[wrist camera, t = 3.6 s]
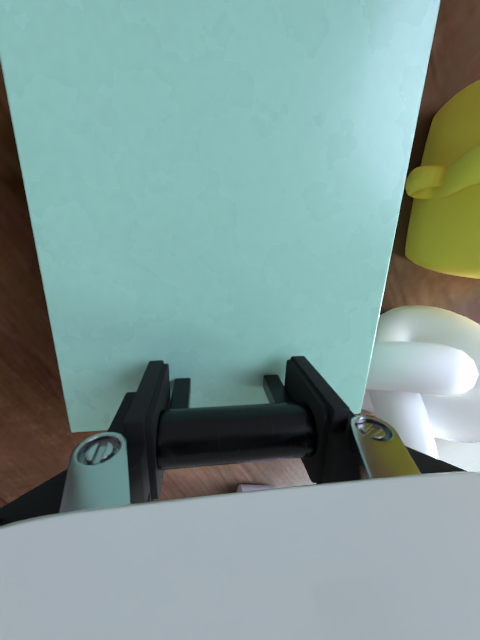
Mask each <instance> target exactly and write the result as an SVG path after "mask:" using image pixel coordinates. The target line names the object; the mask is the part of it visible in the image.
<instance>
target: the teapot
mask: <svg viewBox="0 0 480 640" xmlns="http://www.w3.org/2000/svg"><path fill="white" fill-rule="evenodd" d="M405 189H406V192H407V194H408V195H409V196H411V197H413V198H414V199H413V204H412V209H411V215H410V220H409V226H408V232H407V239H406V246H405V256H406V258H407V259H409V260H410V261H411V262H413V263H414V264H417V265H419V266H421V267H423V268H426V269H429V270H433V271H437V272H441V273H445V274H451V275H456V276H463V277H470V278H478V279H480V80H478V81H476V82H474V83H472V84H471V85H469V86H467V87H466V88H464V89H463V90H461V91H460V92H459V93H457V94H456V95H454V96H453V97H452V98H451V99H450V100H449V101H448V102H447V103H446V104H445V105H444V106H443V107H442V108H441V109H440V110H439V111H438V112H437V113H436V114H435V116H434V118H433V120H432V123H431V126H430V129H429V133H428V137H427V140H426V144H425V149H424V153H423V157H422V162H421V166H420V167H417V168H415V169H413V170H412V171H411V173H410V174H409V176H408V178H407V180H406V183H405Z"/></svg>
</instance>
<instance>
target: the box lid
mask: <svg viewBox="0 0 480 640" xmlns="http://www.w3.org/2000/svg"><path fill="white" fill-rule="evenodd" d="M439 5H440V0H0V62H1V67H2V72H3V77H4V83H5V88H6V93H7V98H8V104H9V109H10V114H11V120H12V125H13V130H14V135H15V141H16V146H17V151H18V156H19V162H20V167H21V172H22V177H23V183H24V188H25V193H26V199H27V204H28V209H29V214H30V220H31V225H32V230H33V235H34V241H35V246H36V251H37V256H38V262H39V267H40V272H41V278H42V283H43V288H44V293H45V299H46V304H47V309H48V314H49V320H50V325H51V330H52V335H53V341H54V346H55V351H56V357H57V362H58V367H59V372H60V378H61V383H62V388H63V393H64V399H65V404H66V409H67V414H68V420H69V425H70V430H71V432H84V431H99V430H108V429H109V427H110V425H111V423H112V421H113V419H114V417H115V415H116V413H117V411H118V409H119V407H120V405H121V402H122V400H123V398H124V396H125V394H126V393H127V392H136V391H137V389H138V387H139V384H140V382H141V380H142V377H143V375H144V373H145V370H146V368H147V366H148V363H149V361H157V360H163V361H164V364H169V379H170V398H171V401H170V406H169V409H163V410H161V412H160V415H159V420H158V426H157V437H156V461H157V467H158V469H159V470H169V469H180V468H191V467H203V466H214V465H225V464H237V463H248V462H259V461H271V460H282V459H293V458H304V457H312V456H313V455H314V454H315V453H316V449H317V429H316V424H315V419H314V416H313V413H312V411H311V409H310V407H309V406H308V404H307V403H305V402H293V401H292V399H291V398H290V396H289V394H288V392H287V390H286V389H285V387H284V383H285V372H286V362H287V360H289V359H290V358H291V357H292V356H305V357H306V359H307V360H308V361H309V362H310V363H311V364H312V365H313V367H314V368H315V369H316V370H317V371H318V372H319V373H320V375H321V376H322V377H323V378H324V379H325V380H326V382H327V383H328V384H329V385H330V386H331V387H332V388H333V390H334V391H335V392H336V393H337V394H338V395H339V396H340V398H341V399H342V400H343V401H344V402H345V403H346V405H347V406H348V407H349V408H350V410H351V411H352V413H353V414H358V413H360V412H361V407H362V402H363V397H364V392H365V387H366V381H367V376H368V371H369V366H370V361H371V356H372V351H373V345H374V340H375V335H376V330H377V325H378V320H379V314H380V309H381V304H382V299H383V294H384V289H385V284H386V278H387V273H388V268H389V263H390V258H391V253H392V247H393V242H394V237H395V232H396V227H397V222H398V217H399V211H400V206H401V201H402V196H403V191H404V186H405V180H406V175H407V170H408V165H409V160H410V155H411V150H412V144H413V139H414V134H415V129H416V124H417V119H418V113H419V108H420V103H421V98H422V93H423V88H424V83H425V77H426V72H427V67H428V62H429V57H430V52H431V47H432V41H433V36H434V31H435V26H436V21H437V16H438V10H439Z"/></svg>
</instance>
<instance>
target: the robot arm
mask: <svg viewBox="0 0 480 640" xmlns="http://www.w3.org/2000/svg"><path fill="white" fill-rule="evenodd" d="M284 387H285V389H286V390H287V392H288V394H289V396H290V398H291V399H292V401H293V402H305V403H307V404H308V406H309V407H310V409H311V411H312V413H313V416H314V419H315V424H316V429H317V449H316V453H315V454H314V455H313V456H312V457H304V458H301V459H302V462H303V464H304V466H305V468H306V470H307V473H308V475H309V477H310V479H311V481H312V482H313V483H317V484H314V485H304V486H294V487H284V488H275V489H265V490H256V491H246V492H237V493H227V494H218V495H209V496H200V497H191V498H182V499H172V500H163V501H154V502H153V499H159V497H160V491H161V485H162V479H163V473H164V470H159V469H158V467H157V461H156V437H157V426H158V420H159V415H160V412H161V410H163V409H169V406H170V401H171V398H170V379H169V364H164V361H163V360H157V361H149V363H148V366H147V368H146V370H145V373H144V375H143V377H142V380H141V382H140V384H139V387H138V389H137V391H136V392H127V393H126V394H125V396H124V398H123V400H122V402H121V405H120V407H119V409H118V411H117V413H116V415H115V417H114V419H113V421H112V423H111V425H110V427H109V429H108V431H107V432H104V433H99V434H96V435H93V436H91V437H89V438H87V439H85V440H84V441H82V442H81V443H80V444H78V445H77V446H76V448H75V449H74V450H73V451H72V454H71V456H70V460H69V466H68V469H67V470H65V471H63V472H61V473H60V474H58V475H56V476H55V477H53V478H51V479H50V480H48V481H46V482H44V483H43V484H41V485H39V486H38V487H36V488H34V489H33V490H31V491H29V492H27V493H26V494H24V495H22V496H21V497H19V498H17V499H16V500H14V501H12V502H10V503H9V504H7V505H5V506H4V507H2V508H0V640H480V472H468V471H465V470H463V469H460V468H458V467H456V466H453V465H451V464H448V463H446V462H443V461H441V460H438V459H436V458H434V457H431V456H429V455H426V454H424V453H421V452H419V451H417V450H414V449H412V448H409V447H407V446H405V445H404V443H403V442H402V440H401V438H400V437H399V435H398V433H397V432H396V430H395V429H394V428H393V427H392V426H391V425H390V424H388V423H387V422H385V421H383V420H381V419H379V418H376V417H373V416H368V415H358V416H355V415H354V414H353V413H352V411H351V410H350V408H349V407H348V406H347V405H346V403H345V402H344V401H343V400H342V399H341V398H340V396H339V395H338V394H337V393H336V392H335V391H334V390H333V388H332V387H331V386H330V385H329V384H328V383H327V382H326V380H325V379H324V378H323V377H322V376H321V375H320V373H319V372H318V371H317V370H316V369H315V368H314V367H313V365H312V364H311V363H310V362H309V361H308V360H307V359H306V357H305V356H292V357H291V358H290V359H289V360H287V362H286V372H285V383H284Z"/></svg>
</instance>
